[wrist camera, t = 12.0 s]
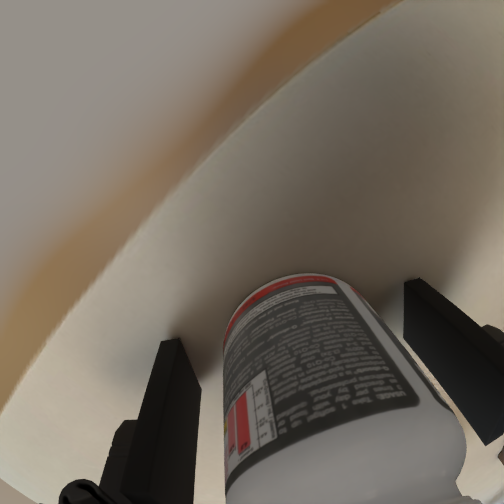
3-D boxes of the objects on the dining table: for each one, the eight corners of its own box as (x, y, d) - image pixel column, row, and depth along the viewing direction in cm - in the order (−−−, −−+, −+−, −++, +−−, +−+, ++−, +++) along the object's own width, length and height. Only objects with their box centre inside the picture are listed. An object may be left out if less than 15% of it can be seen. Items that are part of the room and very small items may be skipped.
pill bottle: (206, 374, 12) (196, 622, 3) (253, 247, 10) (335, 613, 1) (329, 398, 13) (398, 592, 4) (391, 291, 11) (560, 488, 2)
